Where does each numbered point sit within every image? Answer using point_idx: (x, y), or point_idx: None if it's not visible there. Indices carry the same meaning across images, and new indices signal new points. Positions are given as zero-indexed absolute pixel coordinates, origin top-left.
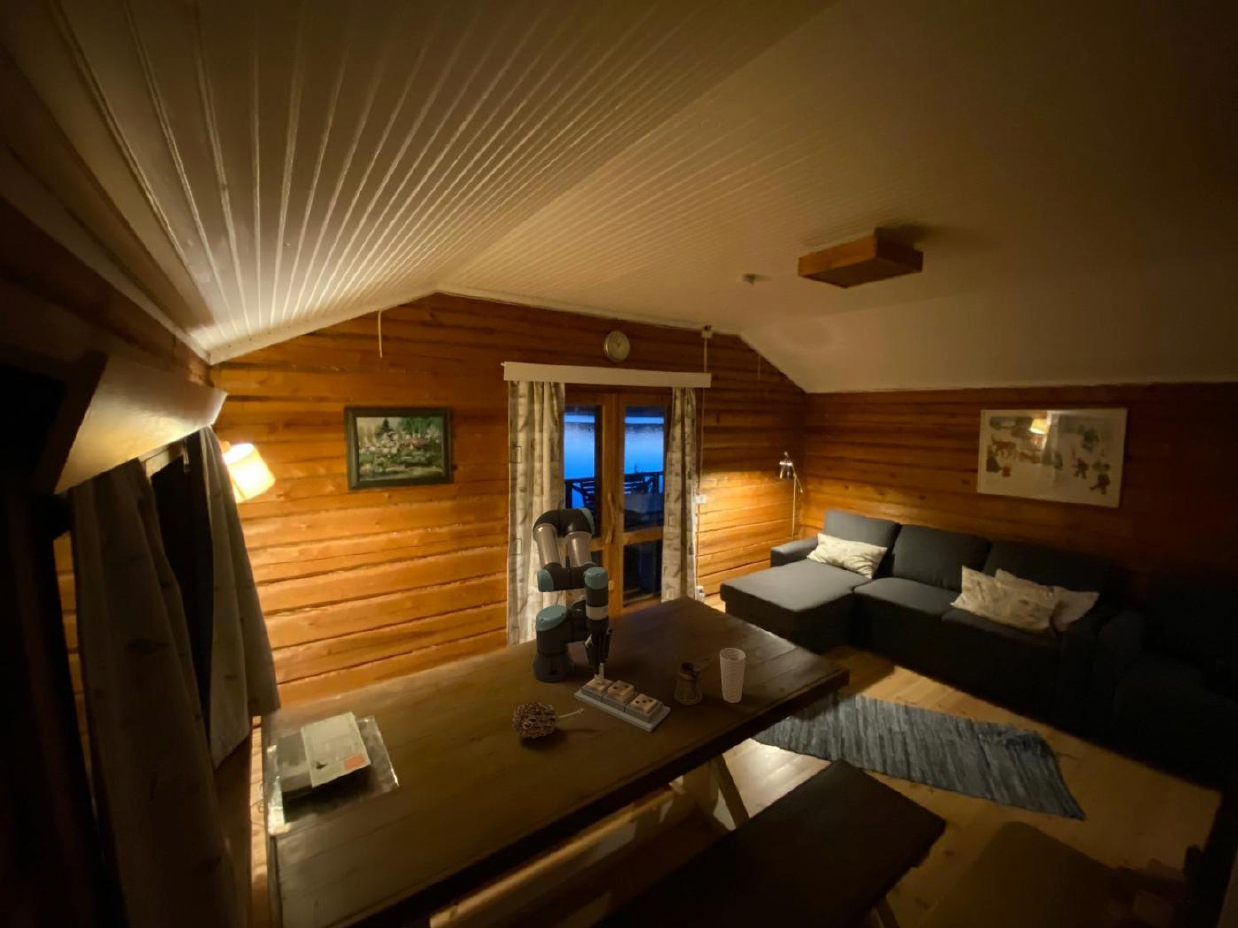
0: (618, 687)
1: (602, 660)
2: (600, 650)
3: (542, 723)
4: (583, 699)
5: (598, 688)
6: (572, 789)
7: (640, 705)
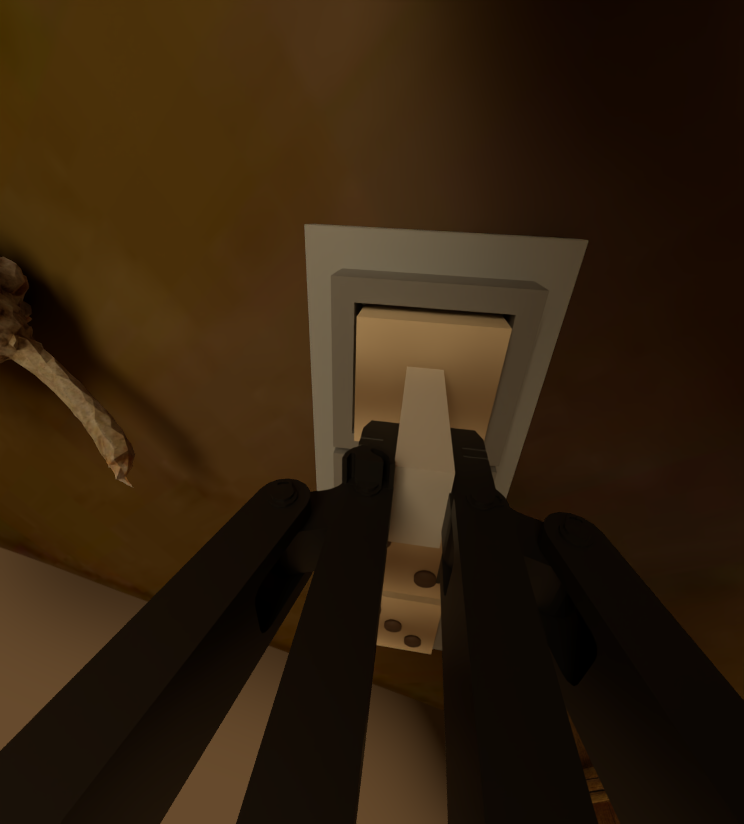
0: (395, 548)
1: (440, 578)
2: (451, 744)
3: None
4: (311, 314)
5: (359, 421)
6: (9, 520)
7: None
